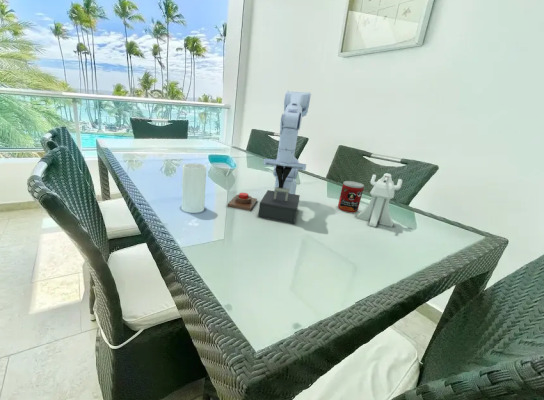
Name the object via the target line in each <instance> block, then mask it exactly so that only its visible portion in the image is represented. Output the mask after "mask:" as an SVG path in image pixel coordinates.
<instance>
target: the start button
mask: <svg viewBox="0 0 544 400" xmlns="http://www.w3.org/2000/svg"><path fill="white" fill-rule="evenodd" d="M238 194H239V198H243V199H247V198H248V195H249V193H247V192H239V193H238Z"/></svg>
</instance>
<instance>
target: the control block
mask: <svg viewBox="0 0 544 400" xmlns="http://www.w3.org/2000/svg"><path fill="white" fill-rule="evenodd" d="M257 202H258V198H257V197H256V198H255V197H252V196H251V195H249V194H248V198H247V199H243V198H239V193H238V194H236V195H235V196H234V197H233V198H232V199H231V200H230V201H229V202H228V203H227V207H229V208H233V209H239V210H244V211H249V212H251V211H252V210H253V208H254V207H255V205H256V203H257Z"/></svg>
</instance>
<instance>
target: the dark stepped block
mask: <svg viewBox="0 0 544 400" xmlns="http://www.w3.org/2000/svg"><path fill="white" fill-rule="evenodd" d="M298 204H300V203H299V202H298ZM258 207H259V208H258V214H257V218H262V219H266V220H270V221H271V220H272V221H276V222H281V223H282V222H283V223H286V224H292V225H295V223H296V219H297V218H296V216H297V212H298V210H297V211H294V210H288V209H283V208H277V207H272V206H266V205H260V204H259V206H258ZM298 207H299V205H298V206H297V209H299V208H298Z"/></svg>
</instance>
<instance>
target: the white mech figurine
mask: <svg viewBox="0 0 544 400" xmlns="http://www.w3.org/2000/svg"><path fill="white" fill-rule="evenodd" d="M376 178H377V175H376V174H372V175H371V179H370V181H369V182H370V185H371V186H373V187H372V188H371V190H370V192H369V194H370V195H371V199H370V201H369V203H368V205H367V206H366V207H365V208H364V209H362V210H361V211H359V212H358V214H357V216H356V219H360V220H364V221H368V222H369V223H368V226H369V227H373V228H377V225H378V224H379V225H383V226H385V227H386V226H387V227H390V228H392V227H393V226H394V221H393V219H392V217H391V213H390V207H389V206H390V201H391V200H392V199H394V196H395V194H396V193H395V191H399V190H400V189H401V188H402V184H403V179H402V178H398V180H397V183H396V184H395V182H394V181H393V178H392V174H391V173H388V172H386V173H384V174H383V176H382V177H381V178H379V179H378V180H377V181H376Z"/></svg>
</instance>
